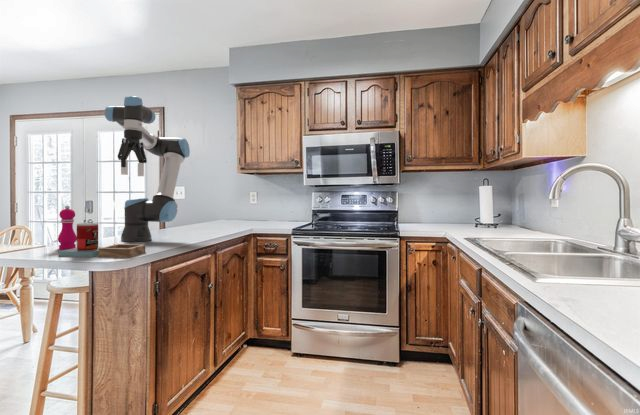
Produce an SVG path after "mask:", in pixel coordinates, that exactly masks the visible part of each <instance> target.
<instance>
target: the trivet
mask: <svg viewBox="0 0 640 415" xmlns="http://www.w3.org/2000/svg"><path fill="white" fill-rule="evenodd" d="M102 247H103V246H98V249H95V250H77V247H76V248H73V249H62V250H58V257H70V258H71V257H72V258H74V257H77V258H95V257H99V248H102Z"/></svg>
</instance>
